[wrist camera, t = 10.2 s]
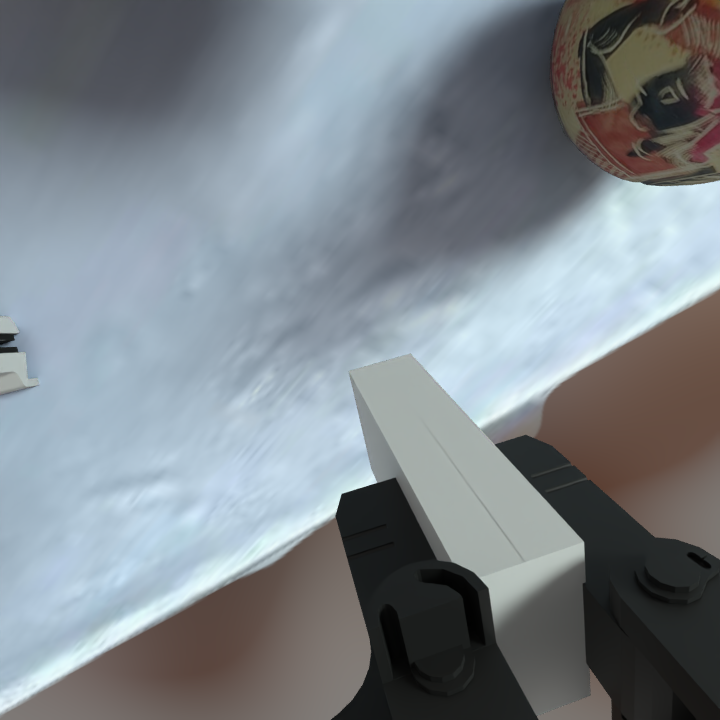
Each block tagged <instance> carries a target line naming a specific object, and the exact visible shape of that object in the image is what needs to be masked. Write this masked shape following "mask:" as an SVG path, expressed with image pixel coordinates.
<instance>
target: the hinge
mask: <svg viewBox="0 0 720 720" xmlns="http://www.w3.org/2000/svg"><path fill="white" fill-rule="evenodd" d="M18 333H20V332H19V330H18V328H17V327H16V325H15V323H14V322H13V320H12V319H11V318H10V317H7V316H0V344H1V343H5V342H9V341H14V340H15V339H14V336H13V335H14V334H18ZM38 385H39V381H38V378H33V379H28V375H27V364H26V352H18V349H17V347H2V348H0V395H1V394H5V393H10V392H14V391H18V390H22V389H26V388H30V387H34V386H38Z"/></svg>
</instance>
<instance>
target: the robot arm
mask: <svg viewBox="0 0 720 720" xmlns="http://www.w3.org/2000/svg"><path fill="white" fill-rule="evenodd" d="M349 375H350V379H351V383H352V387H353V392H354V396H355V400H356V405H357V409H358V413H359V418H360V422H361V426H362V431H363V435H364V439H365V443H366V448H367V452H368V456H369V461H370V465H371V469H372V471H373V474H374V476H375V478H376V480H377V483H376V484H372V485H369V486H366V487H363V488H360V489H356V490H353V491H350V492H347V493H343V494H342V495H341V499H340V502H339V506H338V509H337V513H336V519H337V523H338V526H339V530H340V533H341V537H342V541H343V545H344V548H345V552H346V556H347V559H348V563H349V566H350V570H351V574H352V577H353V581H354V584H355V588H356V592H357V595H358V598H359V602H360V606H361V609H362V613H363V617H364V620H365V624H366V627H367V631H368V634H369V638H370V645H371V658H370V666H369V670H368V672H367V675H366V678H365V680H364V683H363V685H362V686H361V688H360V689H359V691H358V693H357V694H356V696H355V697H354V698H353V700H352V701H351V702H350V703H349V704H348V705H347V706H346V707H345V708H344V709H343V710H342V711H341V712H340V713H339V714H338V715H336V716H335V717H334V718H332V719H331V720H538V718H537V716H538V715H541V714H544V713H546V712H548V711H551V710H554V709H556V708H559V707H562V706H564V705H567V704H569V703H572V702H575V701H577V700H580V699H582V698H585V697H587V696H590V695H591V694H590V673H589V672H590V671H589V668H590V669H591V670H592V672H593V673H594V675H595V676H596V678H597V679H598V680H599V682H600V683H601V685H602V686H603V687H604V689H605V690H606V692H607V693H608V695H609V696H610V698H611V702H612V720H720V560H719V559H718V558H716V557H714V556H713V555H711V554H709V553H708V552H706V551H705V550H703V549H701V548H700V547H696V546H694V545H691V544H688V543H685V542H681V541H679V540H676V539H665V538H655V537H654V536H653V535H651V534H650V533H649V532H648V531H647V530H646V529H645V528H644V527H642V526H641V525H640V524H639V523H638V522H637V521H635V519H633V518H632V517H631V516H630V515H629V514H628V513H627V512H626V511H625V510H623V509H622V508H621V507H620V506H619V505H618V504H617V503H615V502H614V501H613V500H612V499H611V498H610V497H609V496H608V495H606V494H605V493H604V492H603V491H602V490H601V489H600V488H599V487H597V486H596V485H595V484H594V483H593V482H592V481H591V480H587V478H586V476H585V475H584V474H583V473H582V472H580V470H578V469H577V468H576V467H575V466H571V463H570V462H569V461H568V460H567V459H566V458H565V457H564V456H563V455H562V454H560V453H559V452H558V451H557V450H556V449H555V448H554V447H553V446H551V445H549V444H546V443H544V442H541V441H539V440H537V439H534V438H532V437H529V436H527V435H524V436H521V437H517V438H514V439H511V440H508V441H505V442H501V443H498V444H495V445H494V444H493V443H492V441H491V440H490V439H489V438H488V437H487V436H486V435H485V434H484V433H483V432H482V431H481V429H480V428H479V427H478V426H477V425H476V424H475V423H474V422H473V421H472V420H471V419H470V418H469V416H468V415H467V414H466V413H465V412H464V411H463V410H462V409H461V408H460V407H459V406H458V405H457V403H456V402H455V401H454V400H453V399H452V398H451V397H450V396H449V395H448V394H447V393H446V392H445V390H444V389H443V388H442V387H441V386H440V385H439V384H438V383H437V382H436V381H435V380H434V379H433V377H432V376H431V375H430V374H429V373H428V372H427V371H426V370H425V369H424V368H423V367H422V365H421V364H420V363H419V362H418V361H417V360H416V359H415V358H414V357H413V356H412V355H411V354H408V355H404V356H400V357H397V358H393V359H390V360H386V361H383V362H379V363H375V364H372V365H368V366H365V367H361V368H358V369H354V370H350V371H349Z"/></svg>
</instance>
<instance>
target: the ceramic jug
mask: <svg viewBox="0 0 720 720" xmlns="http://www.w3.org/2000/svg"><path fill="white" fill-rule="evenodd" d="M550 84H551V90H552V95H553V100H554V105H555V109H556V112H557V115H558V118H559V121H560V123H561V126H562V129H563V131H564V133H565V134H566V136H567V137H568V138H569V139H570V140H571V141H572V142H573V143H574V144H575V145H576V147H577V148H578V149H579V150H580V151H581V152H582V153H583V154H584V155H585V156H586V157H587V158H588V159H589V160H590V161H592V162H593V163H594V164H596V165H597V166H599V167H600V168H601V169H603V170H604V171H606V172H608V173H610V174H612V175H614V176H616V177H618V178H620V179H623V180H627V181H631V182H641V183H643V184H646V185H655V186H678V185H694V184H703V183H709V182H714V181H718V180H720V0H565V2H564V5H563V7H562V9H561V11H560V14H559V18H558V21H557V24H556V28H555V32H554V38H553V44H552V50H551V56H550Z"/></svg>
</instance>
